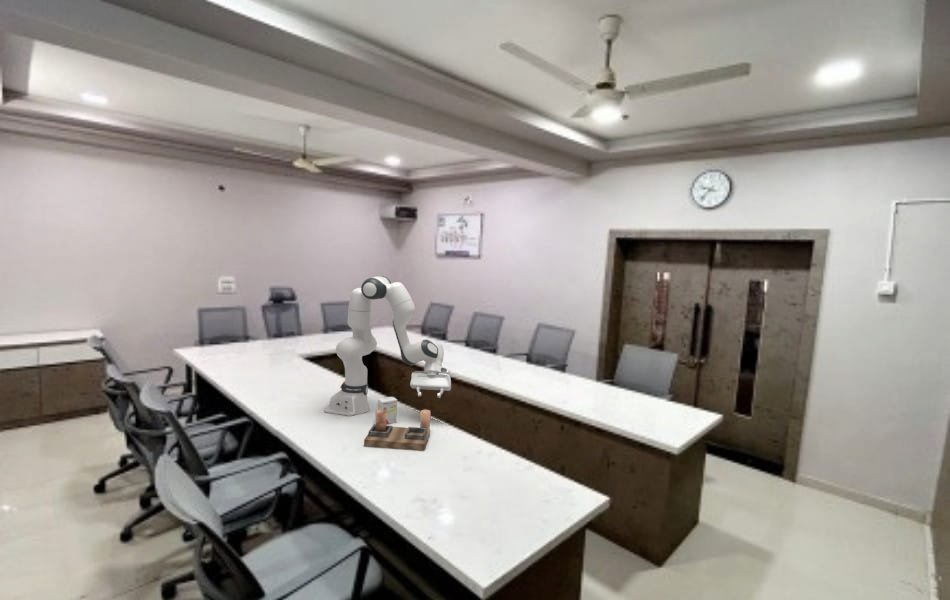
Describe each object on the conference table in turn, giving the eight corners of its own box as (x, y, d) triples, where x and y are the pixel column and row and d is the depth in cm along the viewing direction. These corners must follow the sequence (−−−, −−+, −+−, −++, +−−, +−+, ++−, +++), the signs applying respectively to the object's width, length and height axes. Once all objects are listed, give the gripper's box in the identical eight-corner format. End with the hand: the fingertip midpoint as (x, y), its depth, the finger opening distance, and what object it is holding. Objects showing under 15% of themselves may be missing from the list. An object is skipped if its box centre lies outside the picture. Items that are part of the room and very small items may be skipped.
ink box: (380, 425, 216) (381, 401, 215) (376, 422, 220) (377, 398, 219) (396, 422, 222) (397, 399, 220) (392, 419, 226) (393, 396, 224)
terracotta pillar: (419, 433, 210) (419, 412, 209) (420, 429, 215) (421, 409, 214) (428, 434, 210) (429, 413, 209) (430, 430, 214) (431, 409, 213)
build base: (364, 446, 193) (364, 416, 192) (374, 431, 209) (375, 404, 208) (424, 450, 192) (425, 421, 191) (429, 435, 208) (431, 408, 207)
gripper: (411, 367, 226) (407, 392, 217) (452, 369, 225) (449, 395, 216) (412, 373, 231) (408, 398, 222) (452, 376, 230) (449, 401, 221)
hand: (429, 396), depth 219 cm, fingers open, 8 cm apart
